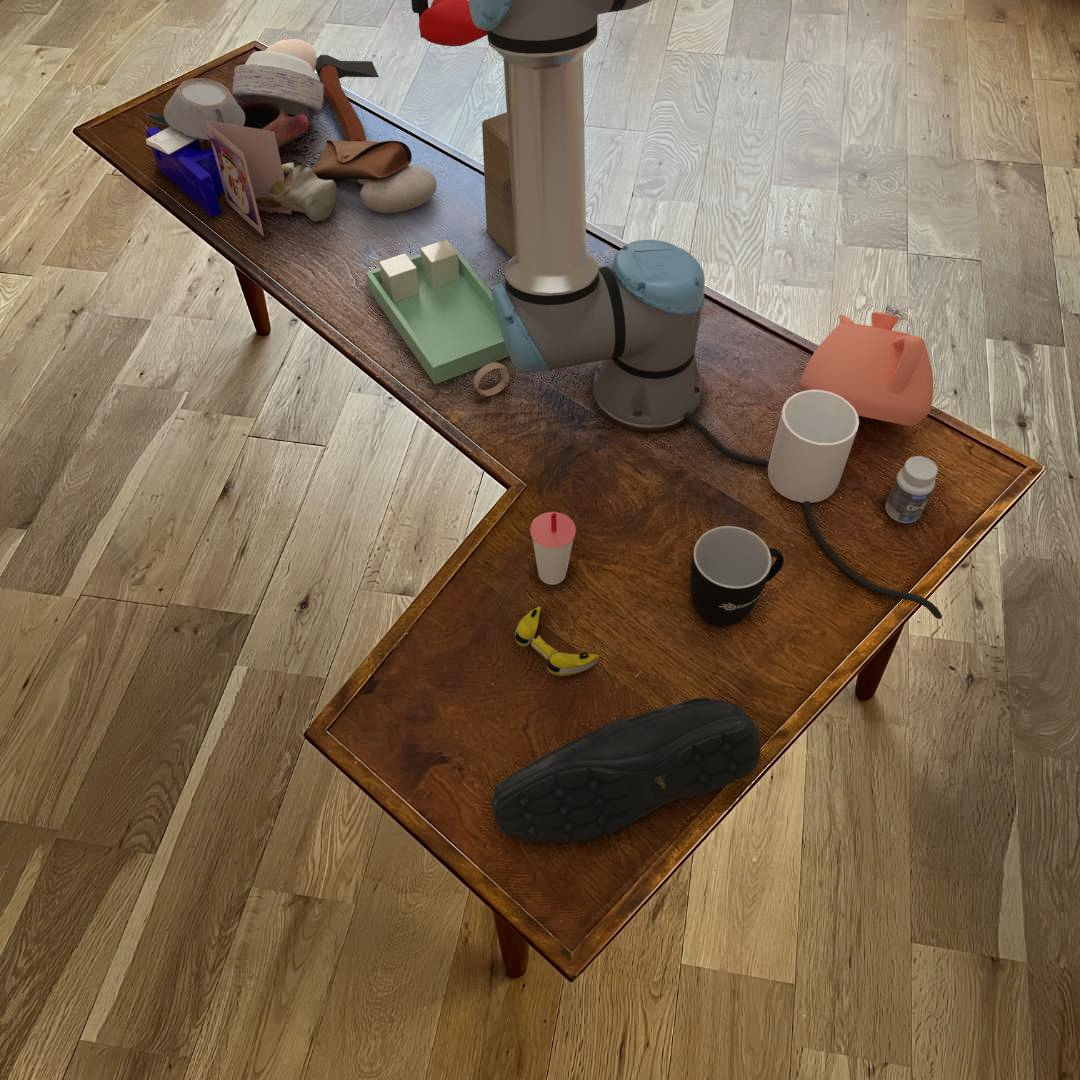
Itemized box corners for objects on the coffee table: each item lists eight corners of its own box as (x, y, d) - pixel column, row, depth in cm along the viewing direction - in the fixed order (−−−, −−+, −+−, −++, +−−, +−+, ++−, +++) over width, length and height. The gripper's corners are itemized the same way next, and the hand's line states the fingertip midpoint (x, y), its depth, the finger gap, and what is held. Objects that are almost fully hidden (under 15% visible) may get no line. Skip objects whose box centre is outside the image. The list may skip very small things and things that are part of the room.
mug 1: (705, 647, 129) (716, 598, 121) (670, 589, 134) (679, 539, 126) (793, 614, 132) (810, 564, 124) (756, 558, 137) (770, 508, 129)
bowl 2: (224, 183, 184) (213, 140, 177) (210, 142, 191) (198, 99, 185) (317, 162, 187) (310, 120, 181) (300, 123, 194) (292, 81, 188)
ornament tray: (525, 350, 160) (524, 333, 157) (434, 384, 155) (433, 367, 153) (453, 259, 172) (452, 242, 169) (368, 289, 168) (365, 272, 165)
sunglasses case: (301, 177, 183) (303, 135, 182) (331, 183, 189) (333, 142, 187) (383, 179, 174) (385, 134, 172) (411, 184, 179) (413, 142, 178)
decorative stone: (372, 228, 176) (368, 202, 172) (355, 197, 181) (350, 171, 177) (446, 209, 180) (444, 182, 176) (427, 179, 184) (425, 153, 180)
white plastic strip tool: (235, 118, 184) (234, 112, 183) (168, 155, 175) (167, 149, 174) (213, 108, 185) (212, 102, 184) (146, 144, 177) (144, 137, 176)
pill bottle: (902, 530, 140) (920, 487, 133) (876, 505, 142) (893, 462, 135) (929, 514, 141) (949, 471, 134) (903, 490, 144) (921, 447, 137)
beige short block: (419, 294, 166) (416, 267, 162) (393, 303, 165) (389, 277, 161) (408, 279, 168) (405, 252, 164) (382, 288, 167) (378, 261, 163)
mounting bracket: (145, 130, 181) (177, 116, 183) (158, 168, 187) (189, 154, 189) (200, 179, 173) (233, 164, 175) (211, 217, 178) (243, 203, 181)
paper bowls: (340, 76, 194) (334, 122, 195) (261, 67, 197) (256, 112, 198) (305, 48, 179) (299, 99, 180) (220, 39, 182) (215, 89, 183)
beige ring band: (510, 392, 154) (509, 366, 150) (480, 404, 153) (478, 378, 149) (501, 380, 156) (501, 354, 152) (471, 391, 154) (470, 366, 150)
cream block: (459, 280, 168) (457, 253, 164) (433, 289, 167) (431, 262, 163) (448, 265, 170) (446, 238, 166) (422, 274, 169) (419, 247, 165)
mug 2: (785, 513, 141) (803, 453, 132) (746, 447, 148) (760, 385, 139) (851, 495, 143) (873, 434, 133) (809, 431, 150) (827, 369, 140)
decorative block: (552, 257, 172) (553, 144, 156) (521, 270, 170) (520, 157, 155) (515, 220, 178) (513, 108, 162) (485, 232, 176) (480, 119, 160)
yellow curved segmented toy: (499, 640, 128) (506, 619, 126) (534, 622, 133) (542, 600, 131) (559, 693, 124) (567, 672, 122) (593, 672, 128) (602, 651, 126)
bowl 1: (145, 95, 173) (147, 122, 177) (219, 125, 173) (220, 151, 177) (188, 59, 181) (189, 86, 185) (259, 88, 181) (258, 114, 185)
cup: (561, 597, 133) (562, 538, 124) (522, 580, 135) (521, 520, 125) (581, 566, 136) (584, 506, 126) (543, 549, 138) (544, 488, 128)
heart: (496, 35, 169) (435, 16, 169) (502, -1, 165) (439, -20, 165) (476, 65, 161) (411, 46, 161) (482, 29, 157) (415, 9, 157)
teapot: (766, 393, 157) (789, 299, 154) (873, 415, 160) (898, 323, 157) (834, 411, 133) (863, 301, 130) (959, 437, 135) (990, 330, 133)
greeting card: (222, 205, 180) (200, 122, 168) (261, 187, 183) (242, 105, 171) (259, 238, 175) (238, 155, 163) (298, 220, 178) (281, 137, 166)
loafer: (506, 869, 110) (489, 816, 120) (774, 800, 115) (737, 754, 124) (489, 781, 107) (473, 733, 116) (766, 714, 111) (729, 673, 121)
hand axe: (409, 156, 191) (371, 70, 209) (411, 138, 189) (372, 52, 206) (342, 157, 187) (308, 69, 205) (343, 139, 185) (309, 51, 202)
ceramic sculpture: (313, 184, 168) (235, 159, 172) (316, 236, 174) (241, 211, 178) (353, 161, 175) (277, 137, 180) (355, 212, 181) (282, 188, 185)
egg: (241, 59, 198) (292, 24, 199) (268, 102, 203) (317, 69, 205) (255, 63, 191) (308, 27, 193) (282, 108, 196) (333, 73, 198)
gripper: (536, -127, 149) (537, 32, 166) (378, -142, 151) (395, 17, 169) (524, -104, 144) (526, 58, 162) (361, -119, 147) (380, 41, 165)
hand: (459, 37), depth 165 cm, fingers closed on heart, 10 cm apart
